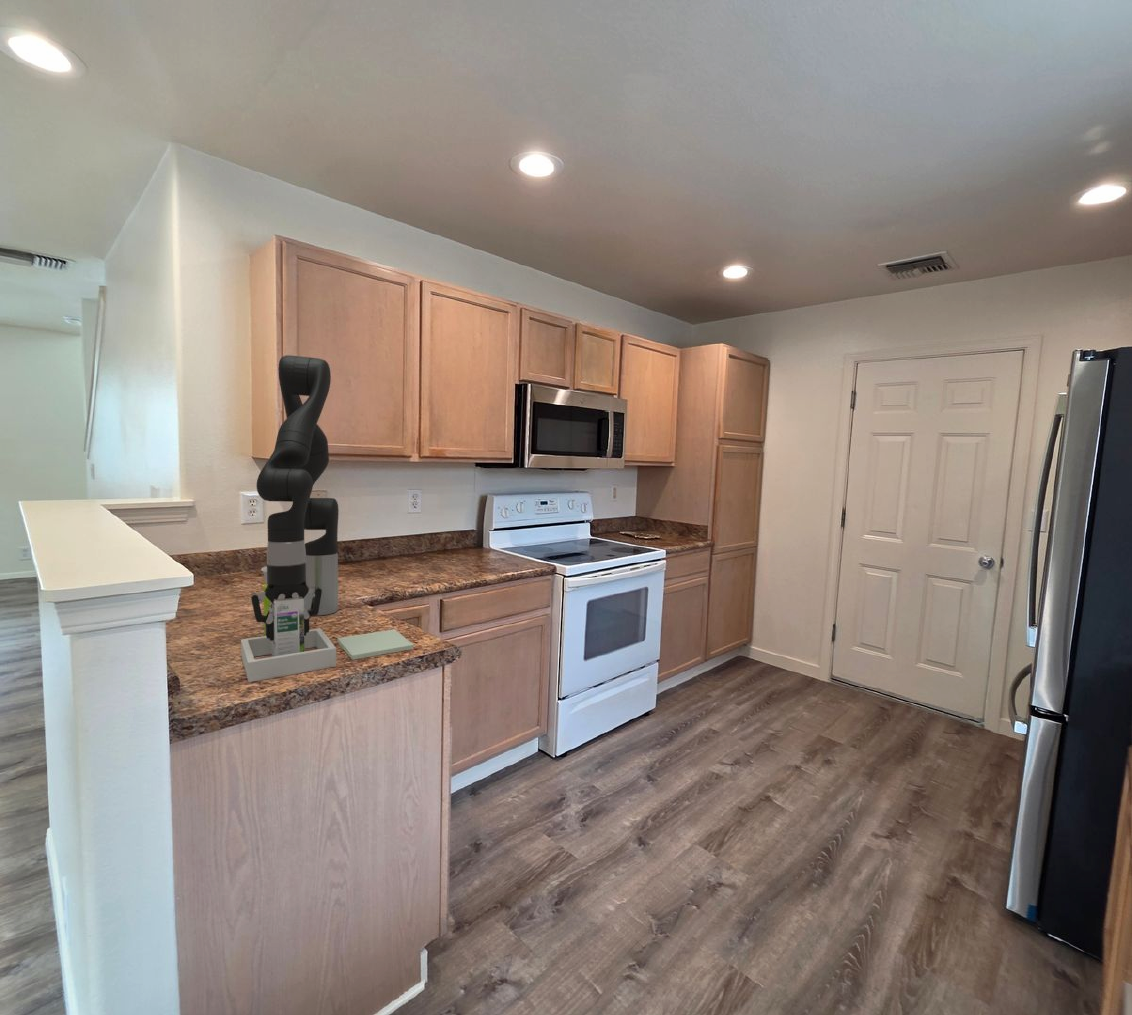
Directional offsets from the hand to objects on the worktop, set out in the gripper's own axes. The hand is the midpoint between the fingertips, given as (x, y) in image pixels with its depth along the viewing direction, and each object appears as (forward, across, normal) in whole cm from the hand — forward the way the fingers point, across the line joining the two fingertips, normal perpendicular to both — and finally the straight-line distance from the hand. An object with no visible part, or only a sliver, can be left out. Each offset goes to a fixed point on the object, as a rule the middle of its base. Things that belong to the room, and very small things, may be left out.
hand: (287, 636), depth 118 cm
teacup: (+6, -7, -58) cm, 59 cm away
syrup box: (+6, 0, 0) cm, 6 cm away
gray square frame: (+6, 0, 0) cm, 6 cm away
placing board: (+6, -19, -1) cm, 20 cm away
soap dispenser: (+6, -1, -20) cm, 21 cm away
